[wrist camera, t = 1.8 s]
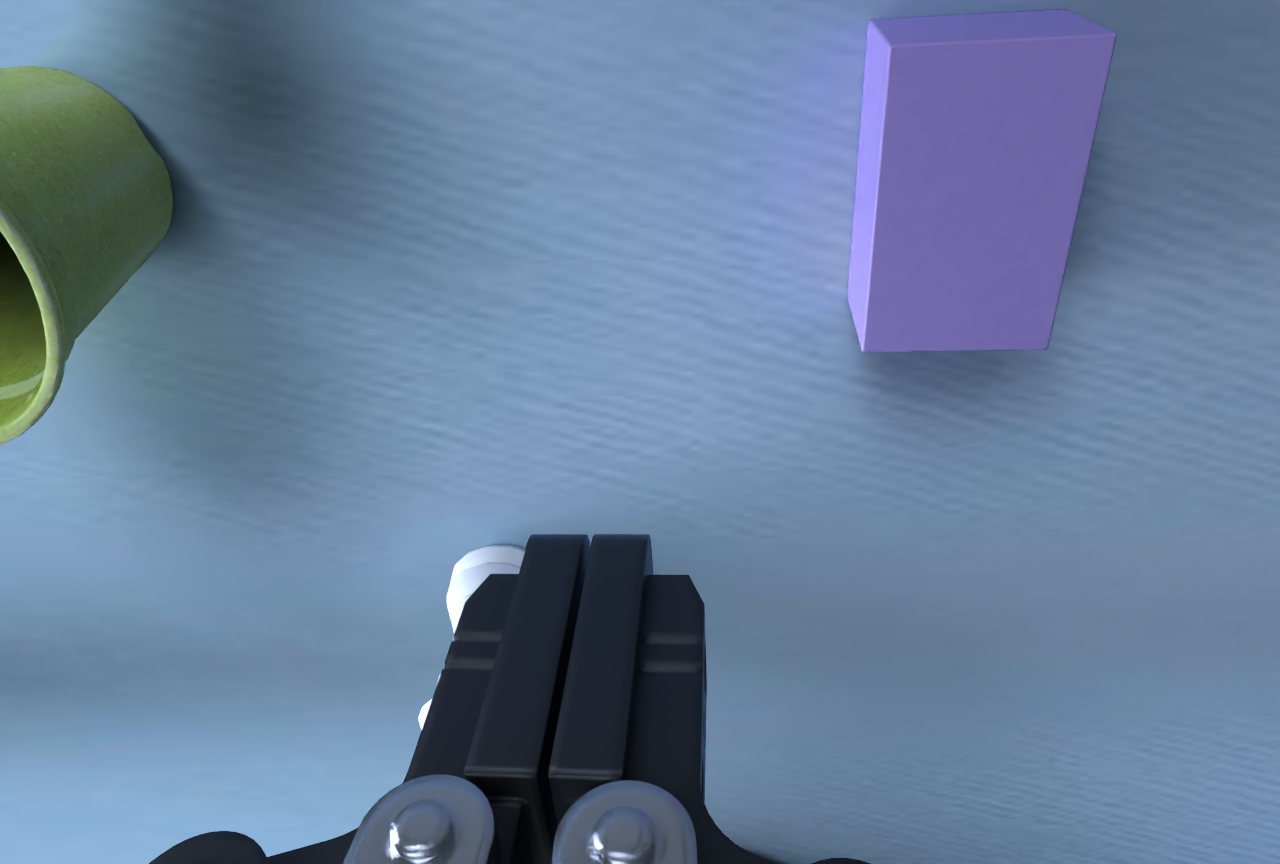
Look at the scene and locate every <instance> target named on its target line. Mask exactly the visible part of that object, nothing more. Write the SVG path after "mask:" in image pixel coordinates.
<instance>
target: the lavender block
mask: <svg viewBox="0 0 1280 864" xmlns="http://www.w3.org/2000/svg"><path fill="white" fill-rule="evenodd" d="M1116 37H1117V36H1116V34H1115V33H1113V32H1111V31H1109V30H1107V29H1105V28H1103V27H1101V26H1099V25H1097V24H1095V23H1093V22H1091V21H1089V20H1087V19H1085V18H1083V17H1081V16H1079V15H1077V14H1075V13H1073V12H1071V11H1069V10H1067V9H1058V10H1039V11H1021V12H1002V13H983V14H964V15H945V16H926V17H907V18H888V19H871V20H869V22H868V33H867V46H866V60H865V73H864V86H863V100H862V113H861V126H860V139H859V153H858V166H857V179H856V193H855V206H854V219H853V232H852V246H851V259H850V272H849V286H848V301H849V305H850V309H851V312H852V316H853V320H854V323H855V327H856V331H857V334H858V338H859V342H860V345H861V349H862V351H863V352H904V351H964V350H1025V349H1047V348H1048V346H1049V341H1050V336H1051V332H1052V327H1053V323H1054V318H1055V314H1056V309H1057V305H1058V300H1059V296H1060V291H1061V286H1062V282H1063V277H1064V273H1065V268H1066V264H1067V259H1068V255H1069V250H1070V246H1071V241H1072V237H1073V232H1074V227H1075V223H1076V218H1077V214H1078V209H1079V205H1080V200H1081V196H1082V191H1083V187H1084V182H1085V178H1086V173H1087V168H1088V164H1089V159H1090V155H1091V150H1092V146H1093V141H1094V137H1095V132H1096V128H1097V123H1098V119H1099V114H1100V109H1101V105H1102V100H1103V96H1104V91H1105V87H1106V82H1107V78H1108V73H1109V69H1110V64H1111V60H1112V55H1113V50H1114V46H1115V41H1116Z"/></svg>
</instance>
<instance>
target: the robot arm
mask: <svg viewBox="0 0 1280 864" xmlns="http://www.w3.org/2000/svg"><path fill="white" fill-rule="evenodd" d="M706 695H707V678H706V644H705V610H704V603H703V601H702V599H701V597H700V595H699V594H698V592H697V590H696V588H695V586H694V584H693V582H692V580H691V578H690V577H689V575H653V561H652V548H651V539H650V535H636V534H595V535H594V536H593V538H592V542H591V547H590V542H589V538H588V536H587V535H567V534H533V535H531V536H530V538H529V540H528V543H527V546H526V549H525V553H524V557H523V560H522V564H521V568H520V571H519V574H490V575H489V576H488V577H487V578H486V579H485V580H484V581H483V583H482V584H481V585H480V586H479V587H478V588H477V589H476V590H475V592H474V593H473V594H472V595H471V596H470V597H469V598H468V599H467V601H466V602H465V604H464V607H463V610H462V613H461V616H460V619H459V622H458V625H457V628H456V631H455V634H454V642H451V645H450V648H449V651H448V654H447V657H446V660H445V669H442V672H441V675H440V678H439V681H438V684H437V687H436V690H435V693H434V696H433V699H432V702H431V705H430V708H429V711H428V714H427V717H426V720H425V722H424V725H423V728H422V731H421V734H420V737H419V740H418V743H417V746H416V749H415V752H414V755H413V758H412V761H411V764H410V767H409V770H408V772H407V775H406V777H405V779H404V782H403V783H402V784H401V785H399V786H397V787H396V788H394V789H392V790H391V791H389V792H388V793H387V794H386V795H384V796H383V797H382V798H380V799H379V800H378V802H377V803H376V804H375V805H374V806H373V807H372V808H371V809H370V810H369V812H368V813H367V814H366V816H365V817H364V819H363V821H362V822H361V824H360V826H359V827H358V828H357V829H355V830H353V831H351V832H349V833H347V834H344V835H342V836H339V837H337V838H334V839H331V840H328V841H324V842H320V843H317V844H313V845H310V846H306V847H302V848H299V849H295V850H292V851H288V852H284V853H281V854H277V855H274V856H270V857H266V855H265V853H264V852H263V850H262V848H261V847H260V846H259V845H258V844H257V843H256V842H255V841H254V840H253V839H251V838H250V837H248V836H246V835H244V834H240V833H237V832H230V831H218V832H210V833H205V834H201V835H198V836H195V837H192V838H190V839H187V840H185V841H183V842H181V843H179V844H177V845H175V846H173V847H172V848H170V849H169V850H167V851H166V852H164V853H163V854H161V855H160V856H158V857H157V858H156V859H154V860H153V861H152V862H150V863H149V864H777V863H774V862H772V861H769V860H767V859H764V858H761V857H759V856H756V855H754V854H752V853H750V852H748V851H746V850H744V849H742V848H741V847H739V846H738V845H736V844H735V843H733V842H732V841H731V840H730V839H729V838H728V837H726V836H725V835H724V834H723V833H722V832H721V830H720V829H719V828H718V827H717V826H716V825H715V823H714V821H713V820H712V818H711V817H710V815H709V813H708V811H707V809H706V806H705V804H704V803H705V748H706ZM812 864H870V863H867V862H863V861H860V860H855V859H849V858H830V859H825V860H820V861H817V862H814V863H812Z"/></svg>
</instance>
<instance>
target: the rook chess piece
mask: <svg viewBox="0 0 1280 864" xmlns="http://www.w3.org/2000/svg"><path fill="white" fill-rule="evenodd" d="M524 553H525V549H524V548H520V547H517V546H514V545H490V546H487V547H484V548H481V549H478V550H475V551H472V552H469V553H468V554H466V555H465V556H464V557H463V558H462V559H461V560H460V561H459V562H458V563H457V564H456V565H455V567H454V570H453V574H452V577H451V583H450V587H449V590H448V593H447V607H448V611H449V615H450V619H451V623H452V627H453V631H454V634H455V631H456V628H457V625H458V622H459V619H460V616H461V613H462V610H463V607H464V604H465V602H466V601H467V599H468V598H469V597H470V596H471V595H472V594H473V593H474V592H475V590H476V589H477V588H478V587H479V586H480V585H481V584H482V583H483V581H484V580H485V579H486V578H487V577H488V576H489V575H490V574H519V571H520V568H521V564H522V560H523V557H524ZM453 642H454V641H453ZM440 675H441V674H440ZM439 678H440V676H439ZM438 681H439V679H438ZM437 684H438V682H437ZM431 702H432V699H431V700H430V701H429V702H428V703H426V704H425V705H424V706H423V707H422V708H421V712H420V715H419V718H418V720H419V723H420V726H421V730H422V728H423V725H424V722H425V720H426V717H427V714H428V711H429V708H430V705H431Z"/></svg>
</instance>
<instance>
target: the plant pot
mask: <svg viewBox="0 0 1280 864" xmlns="http://www.w3.org/2000/svg"><path fill="white" fill-rule="evenodd" d="M172 214H173V194H172V185H171V180H170V176H169V173H168V170H167V167H166V165H165V162H164V161H163V159H162V157H161V156H160V155H159V154H158V153H157V152H156V151H155V149H154V148H153V147H152V145H151V144H150V143H149V141H148V140H147V138H146V137H145V135H144V134H143V132H142V131H141V129H140V128H139V126H138V124H137V123H136V121H135V119H134V117H133V115H132V113H131V112H130V111H129V110H128V109H127V108H126V107H125V106H124V105H123V104H122V103H120V102H119V101H118V100H117V99H116V98H115V97H113V96H112V95H110V94H109V93H108V92H106V91H105V90H103V89H102V88H100V87H99V86H97V85H95V84H94V83H92V82H90V81H88V80H86V79H84V78H82V77H79V76H77V75H74V74H72V73H69V72H65V71H62V70H58V69H53V68H47V67H38V66H24V67H11V68H0V445H2V444H5V443H7V442H9V441H11V440H13V439H15V438H16V437H18V436H20V435H21V434H23V433H24V432H26V431H27V430H28V429H29V428H30V427H32V426H33V425H34V424H35V423H36V422H37V421H38V420H39V419H40V418H41V417H42V416H43V414H44V413H45V412H46V411H47V410H48V408H49V407H50V405H51V404H52V402H53V400H54V398H55V396H56V394H57V392H58V390H59V388H60V385H61V382H62V378H63V374H64V368H65V362H66V360H67V359H68V357H69V355H70V352H71V350H72V348H73V345H74V342H75V339H76V338H77V337H78V336H79V335H80V334H81V332H82V331H83V330H84V329H85V328H86V327H87V326H88V325H89V323H90V322H91V321H92V320H93V319H94V318H95V317H96V316H97V314H98V313H99V312H100V311H101V310H102V309H103V308H104V307H105V306H106V304H107V303H108V302H109V301H110V300H111V299H112V298H113V297H114V295H115V294H116V293H117V292H118V291H119V290H120V289H121V287H122V286H123V285H124V284H125V283H126V282H127V281H128V280H129V278H130V277H131V276H132V275H133V274H134V273H135V272H136V271H137V269H138V268H139V267H140V266H141V265H142V264H143V263H144V262H145V260H146V259H147V258H148V257H149V256H150V255H151V254H152V253H153V252H154V250H155V249H156V248H157V247H158V245H159V244H160V243H161V242H162V240H163V239H164V237H165V235H166V233H167V231H168V229H169V226H170V223H171V218H172Z"/></svg>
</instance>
